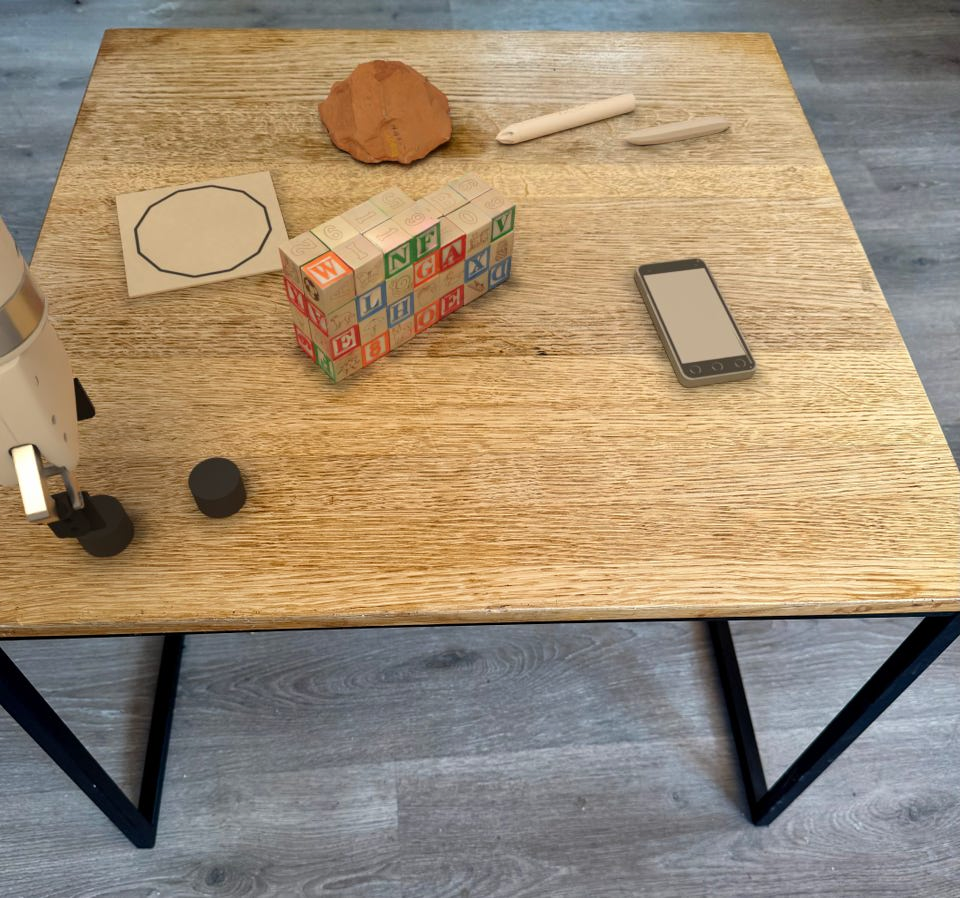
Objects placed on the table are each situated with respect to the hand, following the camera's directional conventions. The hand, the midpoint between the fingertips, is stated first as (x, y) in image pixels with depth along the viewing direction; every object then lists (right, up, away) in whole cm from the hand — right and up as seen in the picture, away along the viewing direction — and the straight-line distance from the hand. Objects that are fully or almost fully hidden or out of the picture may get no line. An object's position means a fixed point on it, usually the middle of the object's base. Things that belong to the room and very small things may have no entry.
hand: (78, 472), depth 62 cm
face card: (0, +24, +27) cm, 36 cm away
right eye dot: (+7, -2, +9) cm, 12 cm away
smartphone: (+49, +14, +23) cm, 56 cm away
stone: (+18, +38, +38) cm, 57 cm away
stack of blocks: (+21, +15, +22) cm, 34 cm away
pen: (+51, +38, +39) cm, 75 cm away
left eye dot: (-1, -5, +7) cm, 9 cm away
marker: (+38, +39, +40) cm, 67 cm away
